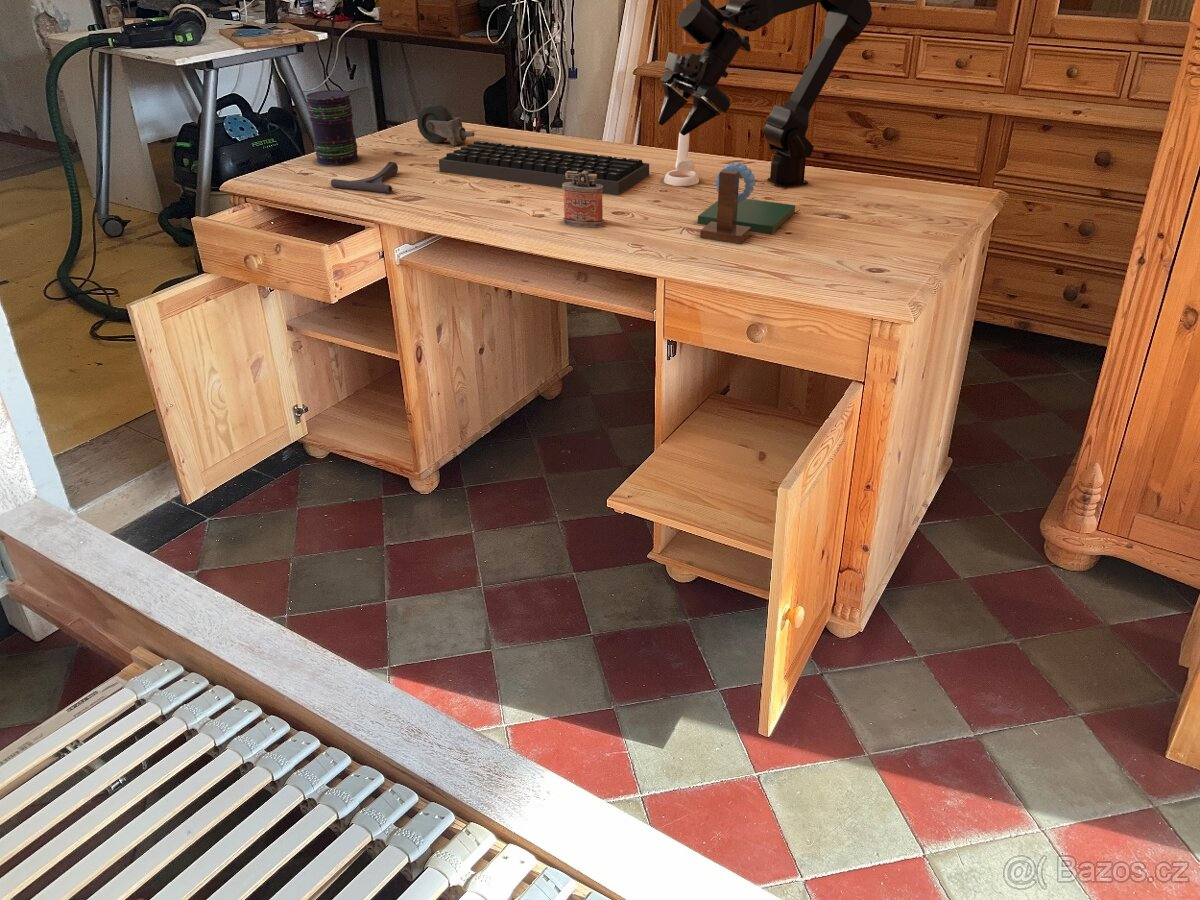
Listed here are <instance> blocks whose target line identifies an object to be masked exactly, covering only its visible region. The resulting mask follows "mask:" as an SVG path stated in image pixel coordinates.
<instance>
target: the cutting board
mask: <svg viewBox="0 0 1200 900" xmlns="http://www.w3.org/2000/svg"><path fill="white" fill-rule="evenodd" d="M717 210H718V200H716V201H715V202H714V203H713V204H711V205H710V206H708V207H707V208H706V209H704V211H702V212H701V213H700V214H699V215H697V224H701V225H705V226H706V225H707V224H709V223H710V222H711V221H712V222H717ZM795 212H796V205H795V204H791V203H790V204H789V203H783V202H782V203H781V202H773V201H767V200H758V199H751V198H746V199H745V200H742V201H741V202H740V203H738V206H737V223H736V225H740V226H747V227H751V232H756V233H763V234H770V235H773V234H774V233H776V231H778V229H779V228H780V227H781V226H782V225H783V224H784V223H785V222H786V221H787V220H789V219H790V218H791V217H792V216H793V215H794V214H795Z"/></svg>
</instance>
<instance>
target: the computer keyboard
mask: <svg viewBox="0 0 1200 900" xmlns="http://www.w3.org/2000/svg"><path fill="white" fill-rule="evenodd" d="M438 169H439V172H440V173H448V174H456V175H463V176H470V177H478V178H486V179H493V180H501V181H509V182H516V183H522V184H531V185H539V186H544V187H545V186H546V187H553V188H559V189H560V188H561V189H563V188H562V184H563V183H565V182H572V180H573V179H566V175H565V173H566V172H567V171H575V172H578V173H582V172H583V171H588V173H589V174H597V180H596V184H600V185H603V191H602V194H604V195H605V194H606V195H613V196H620V195H621V194H623V193H625V192H626V191H628V190H629V189H631V188H633V186H635V185H637V184H639V183H640V182H642V181H643V180H645V179H646V178H648V177H649V176H650V163H648V162H643V159H639V158H638V159H637V158H628V159H627V157H621V156H614V157H613V156H612V155H604V154H603V155H602V154H599V155H598V154H595V153H587V152H580V151H579V152H577V151H569V150H560V149H552V148H545V147H544V148H543V147H534V146H530V147H529V146H527V145H516V144H508V143H500V142H492V141H491V142H489V141H482V140H476V141H473V143H468V144H467V145H466V146H462V147H460V149H454V150H453V152H447V153H446V155H445V156H444V157H441V158H439V159H438ZM576 182H578V180H576Z"/></svg>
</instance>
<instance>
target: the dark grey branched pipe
mask: <svg viewBox="0 0 1200 900" xmlns="http://www.w3.org/2000/svg"><path fill="white" fill-rule="evenodd" d="M398 171H399V166H398V164H397V162H395V161H388V162H387V164H386V165H385V166H384V167H383V168H382V169H381V170H380V171H378V172H377V173H376V174H375V175H372V176H370V177H366V178H361V179H353V180H345V179H336V178H332V179H331V180H330V186H331V187H332V188H341V189H349V190H350V189H351V190H358V191H367V192H375V193H384V194H391V193H393V186H392V185H389V184H384V181H385V180H387V179H389V178H391V177H394V176H396V174H398Z"/></svg>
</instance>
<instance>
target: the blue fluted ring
mask: <svg viewBox="0 0 1200 900" xmlns="http://www.w3.org/2000/svg"><path fill="white" fill-rule="evenodd" d="M723 169H730V170H738V171H740V173H739V174H741V176H742V178H741V179H743V182H744V188H745V189H743V192H740V193H738V203H740V202H741V201H742V200H745V199H749V197H750V196H751V193H753V192H754V191H755V188H754V187H755V186H756V181H755V174H753V171H752V169H751V168H749V167H748V165H747V164H744V163H743V164H742V163H741V162H735V163H734V162H731V163H730V164H728V165H726V166H725V167H722V168H721V169H720V171H719V172H721V171H722V170H723ZM714 183H715V185H716V188H715V189H716V191H717V192H718V190H719V173H717V175H716V180H715V182H714Z"/></svg>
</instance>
